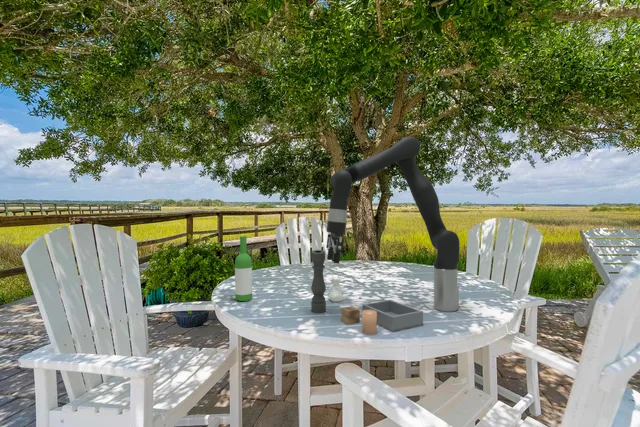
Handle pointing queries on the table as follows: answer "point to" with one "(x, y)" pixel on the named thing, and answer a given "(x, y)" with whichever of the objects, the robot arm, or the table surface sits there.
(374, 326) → the tan cylinder
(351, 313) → the walnut cube
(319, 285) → the candle holder
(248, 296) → the wine bottle
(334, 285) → the white creature statuette
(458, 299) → the robot arm
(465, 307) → the table surface
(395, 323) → the grey tote
